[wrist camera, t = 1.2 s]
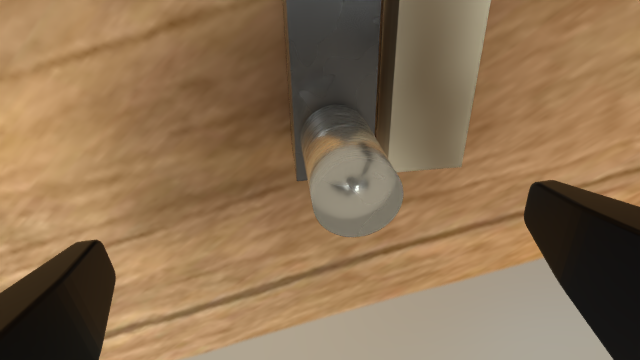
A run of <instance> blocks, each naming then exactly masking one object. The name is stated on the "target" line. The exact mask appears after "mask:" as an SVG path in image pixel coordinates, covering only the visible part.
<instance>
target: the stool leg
mask: <svg viewBox="0 0 640 360" xmlns="http://www.w3.org/2000/svg"><path fill="white" fill-rule="evenodd" d="M283 15H284V31H285V46H286V62H287V78H288V93H289V109H290V124H291V140H292V149H293V156H294V163H295V170H296V177H297V181H304V180H308V184H309V190H310V195H311V200H312V205H313V210H314V214H315V216H316V218H317V220H318V221H319V223H320V224H321V225H322V226H323V227H324V228H325V229H327V230H328V231H330V232H332V233H334V234H337V235H340V236H345V237H360V236H365V235H369V234H372V233H374V232H376V231H378V230H380V229H382V228H383V227H385V226H386V225H387V224H388V223H390V222H391V221H392V220H393V218H394V217H395V216H396V214H397V213H398V211H399V209H400V207H401V204H402V201H403V186H402V183H401V180H400V178H399V176H398V175H397V173H396V171H395V170H394V168H393V166H392V165H391V163H390V161H389V160H388V158H387V156H386V154H385V153H384V151H383V149H382V148H381V146H380V144H379V143H378V141H377V139H376V138H375V136H374V135H375V115H376V95H377V75H378V55H379V35H380V15H381V0H283Z"/></svg>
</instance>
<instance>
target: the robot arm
mask: <svg viewBox="0 0 640 360" xmlns="http://www.w3.org/2000/svg"><path fill="white" fill-rule="evenodd" d="M524 221H525V224H526V226H527V228H528V230H529V231H530V233H531V235H532V237H533V239H534V240H535V242H536V244H537V246H538V247H539V249H540V251H541V253H542V254H543V256H544V258H545V260H546V261H547V263H548V265H549V267H550V268H551V270H552V272H553V274H554V275H555V277H556V278H557V280H558V282H559V283H560V285H561V286H562V288H563V289H564V291H565V292H566V294H567V295H568V296H569V298H570V299H571V301H572V302H573V303H574V305H575V306H576V308H577V309H578V310H579V312H580V313H581V315H582V316H583V318H584V319H585V320H586V322H587V323H588V325H589V326H590V327H591V329H592V330H593V332H594V333H595V334H596V336H597V337H598V338H599V340H600V341H601V343H602V344H603V346H604V347H605V348H606V350H607V351H608V352H609V354H610V355H611V357H612V358H613V360H640V207H638V206H635V205H632V204H629V203H626V202H622V201H619V200H616V199H613V198H609V197H606V196H603V195H600V194H597V193H593V192H590V191H587V190H584V189H581V188H577V187H574V186H571V185H568V184H564V183H561V182H558V181H555V180H547V181H540V182H535V183H533V184H532V185H531V187H530V189H529V194H528V198H527V202H526V207H525V211H524ZM115 280H116V276H115V271H114V268H113V266H112V263H111V261H110V259H109V257H108V254H107V252H106V250H105V248H104V245H103V244H102V243H101V242H100V241H99V240H89V241H81V242H77V243H75V244H73V245H71V246H70V247H68V248H67V249H65V250H64V251H62V252H61V253H59V254H58V255H56V256H55V257H54V258H52V259H51V260H49V261H48V262H46V263H45V264H43V265H42V266H40V267H39V268H37V269H36V270H34V271H33V272H31V273H30V274H28V275H27V276H25V277H24V278H22V279H21V280H19V281H18V282H16V283H15V284H13V285H12V286H10V287H9V288H7V289H6V290H4V291H3V292H1V293H0V360H99V356H100V353H101V349H102V345H103V341H104V336H105V331H106V326H107V321H108V316H109V311H110V306H111V301H112V296H113V291H114V286H115Z"/></svg>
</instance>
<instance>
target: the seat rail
mask: <svg viewBox="0 0 640 360" xmlns="http://www.w3.org/2000/svg"><path fill="white" fill-rule="evenodd" d="M490 3H491V0H384V2H383V21H382V40H381V59H380V78H379V97H378V116H377V135H376V139H377V141H378V143H379V144H380V146H381V148H382V149H383V151H384V153H385V154H386V156H387V158H388V160H389V161H390V163H391V165H392V166H393V168H394V170H395V171H396V172H406V171H418V170H431V169H443V168H456V167H462V161H463V155H464V150H465V144H466V138H467V133H468V127H469V121H470V116H471V110H472V104H473V99H474V93H475V87H476V82H477V76H478V70H479V65H480V59H481V53H482V48H483V42H484V36H485V31H486V25H487V20H488V14H489V8H490Z"/></svg>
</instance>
